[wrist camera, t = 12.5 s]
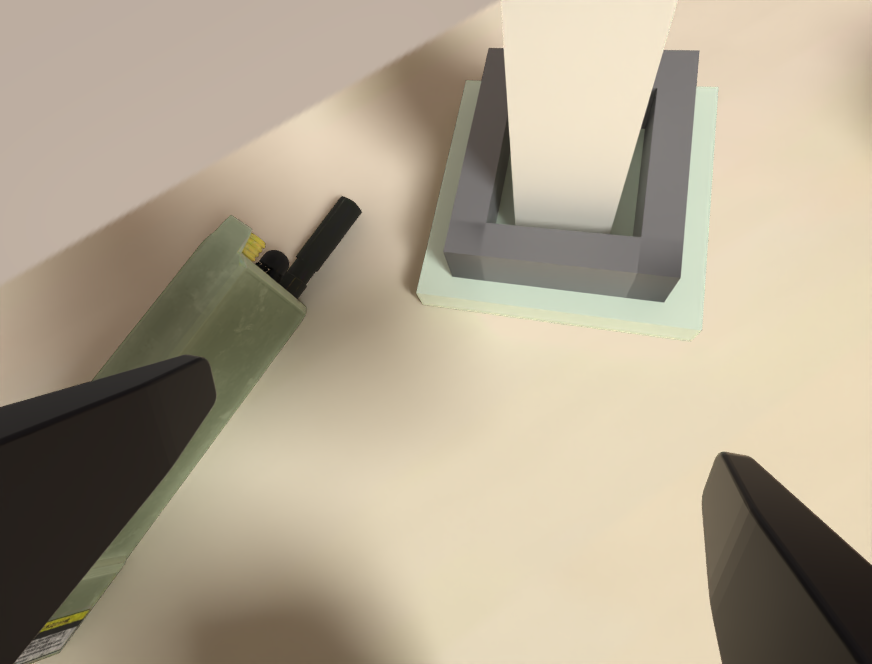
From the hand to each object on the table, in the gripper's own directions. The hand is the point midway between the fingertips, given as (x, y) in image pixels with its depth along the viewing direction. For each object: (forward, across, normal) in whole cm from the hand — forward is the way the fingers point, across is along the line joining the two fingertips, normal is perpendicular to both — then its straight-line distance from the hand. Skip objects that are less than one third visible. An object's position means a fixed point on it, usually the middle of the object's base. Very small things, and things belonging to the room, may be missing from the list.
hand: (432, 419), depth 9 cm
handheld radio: (+10, +14, +10) cm, 20 cm away
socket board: (+19, -1, +1) cm, 19 cm away
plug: (+18, -1, 0) cm, 18 cm away
